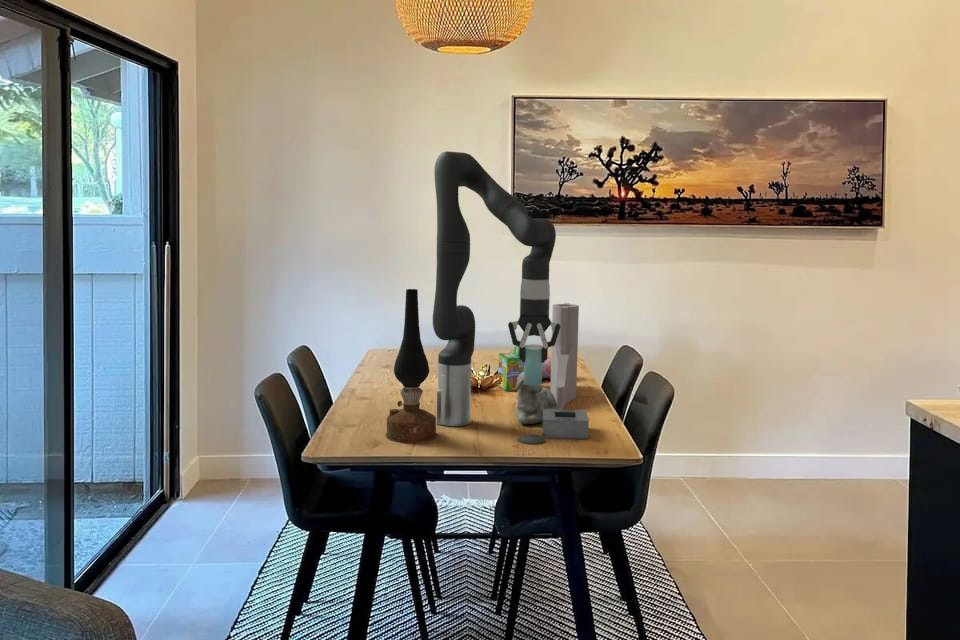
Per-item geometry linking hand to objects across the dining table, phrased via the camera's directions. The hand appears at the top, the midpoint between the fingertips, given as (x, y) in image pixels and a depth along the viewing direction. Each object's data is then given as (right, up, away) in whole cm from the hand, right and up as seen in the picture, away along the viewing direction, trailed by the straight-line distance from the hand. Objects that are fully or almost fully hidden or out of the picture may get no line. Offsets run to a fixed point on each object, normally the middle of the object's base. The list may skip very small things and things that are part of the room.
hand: (533, 361), depth 220 cm
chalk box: (-2, -13, +66) cm, 68 cm away
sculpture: (+3, -18, +27) cm, 32 cm away
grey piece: (+13, -14, +54) cm, 57 cm away
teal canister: (0, -6, +1) cm, 6 cm away
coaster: (0, -21, +3) cm, 21 cm away
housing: (+9, -20, +11) cm, 25 cm away
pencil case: (+7, -11, +81) cm, 82 cm away
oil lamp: (-32, -20, +6) cm, 39 cm away
